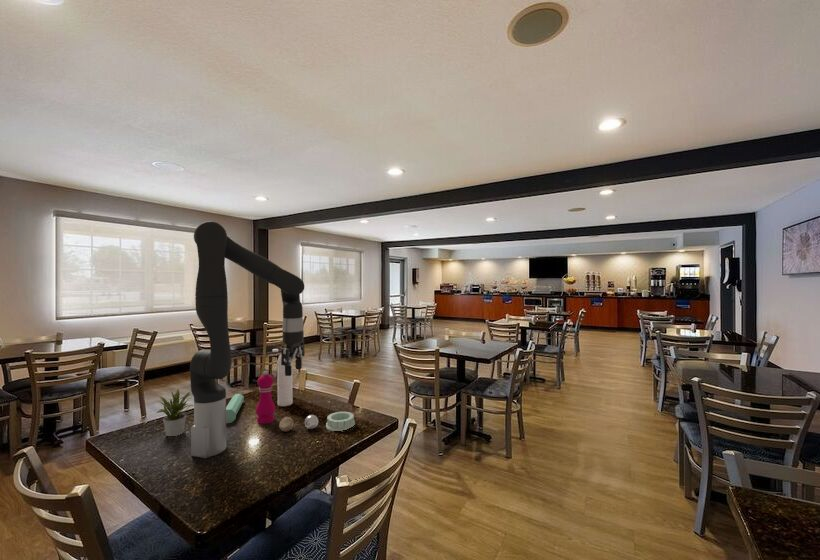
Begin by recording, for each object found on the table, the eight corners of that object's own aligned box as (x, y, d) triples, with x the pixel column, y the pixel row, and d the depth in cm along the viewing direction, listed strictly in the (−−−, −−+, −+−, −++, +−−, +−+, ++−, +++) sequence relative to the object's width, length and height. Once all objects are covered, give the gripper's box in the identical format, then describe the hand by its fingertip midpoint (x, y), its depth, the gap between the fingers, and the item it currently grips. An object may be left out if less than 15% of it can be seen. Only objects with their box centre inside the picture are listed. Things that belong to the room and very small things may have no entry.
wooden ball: (287, 434, 128) (287, 420, 128) (276, 432, 130) (276, 419, 130) (296, 429, 133) (296, 415, 133) (285, 427, 135) (285, 414, 135)
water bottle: (294, 401, 164) (293, 347, 164) (290, 406, 157) (290, 350, 157) (274, 402, 163) (274, 348, 163) (270, 407, 156) (270, 350, 156)
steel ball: (313, 432, 130) (313, 418, 130) (301, 430, 132) (301, 416, 132) (320, 426, 135) (320, 413, 135) (309, 425, 137) (309, 412, 137)
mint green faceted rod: (234, 389, 162) (223, 407, 139) (247, 393, 164) (238, 411, 140) (229, 402, 162) (217, 421, 138) (242, 405, 163) (232, 426, 139)
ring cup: (346, 433, 129) (346, 423, 129) (320, 429, 132) (320, 420, 132) (359, 421, 140) (359, 413, 140) (335, 418, 143) (335, 409, 143)
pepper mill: (270, 424, 137) (270, 373, 137) (252, 424, 137) (252, 373, 137) (278, 417, 144) (277, 368, 144) (260, 417, 145) (260, 368, 145)
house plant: (206, 433, 130) (206, 389, 130) (162, 447, 119) (161, 399, 119) (191, 423, 139) (191, 382, 139) (149, 435, 128) (149, 390, 128)
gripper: (293, 333, 124) (294, 378, 125) (310, 326, 139) (310, 367, 139) (273, 332, 125) (274, 377, 126) (292, 326, 140) (292, 366, 140)
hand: (293, 372), depth 133 cm, fingers open, 8 cm apart
